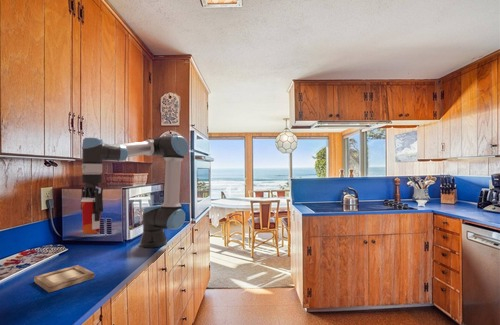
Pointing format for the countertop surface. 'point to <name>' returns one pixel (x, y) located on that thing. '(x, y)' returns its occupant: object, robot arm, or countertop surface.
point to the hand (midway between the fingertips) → (91, 227)
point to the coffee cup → (88, 215)
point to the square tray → (63, 278)
